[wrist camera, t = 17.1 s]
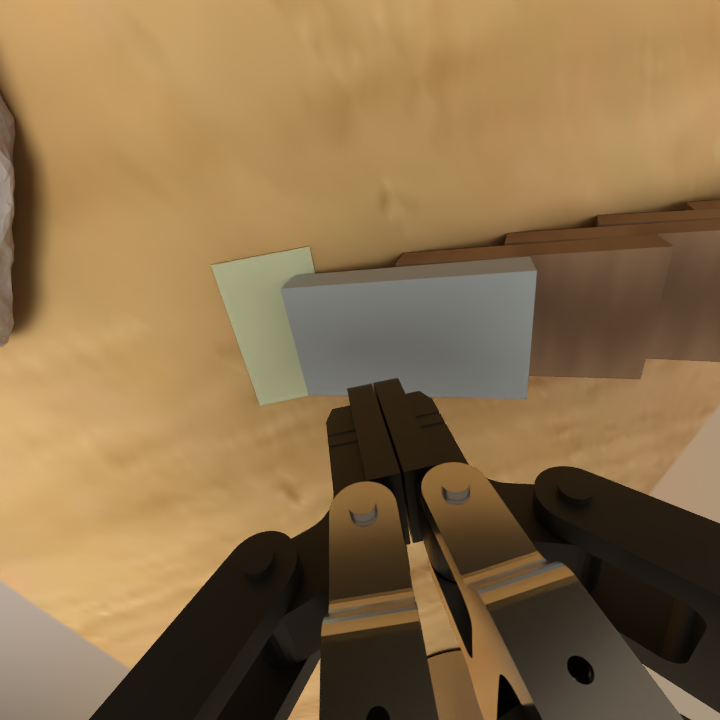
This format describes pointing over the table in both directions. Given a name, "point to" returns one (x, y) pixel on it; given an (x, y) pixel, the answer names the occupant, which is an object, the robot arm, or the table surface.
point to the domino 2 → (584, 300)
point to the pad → (265, 319)
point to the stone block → (6, 220)
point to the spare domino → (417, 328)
